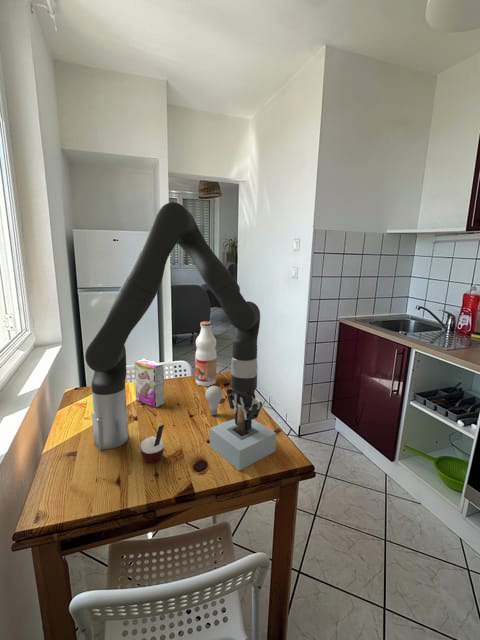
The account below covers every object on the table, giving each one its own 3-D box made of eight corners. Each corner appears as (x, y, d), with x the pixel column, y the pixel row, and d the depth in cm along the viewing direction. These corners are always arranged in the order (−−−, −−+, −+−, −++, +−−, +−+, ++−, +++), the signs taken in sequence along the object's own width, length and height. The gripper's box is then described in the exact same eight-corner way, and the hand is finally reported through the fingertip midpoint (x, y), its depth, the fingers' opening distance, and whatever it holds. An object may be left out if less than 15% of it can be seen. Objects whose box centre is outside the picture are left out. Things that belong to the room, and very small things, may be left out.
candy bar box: (135, 401, 124) (133, 361, 120) (145, 396, 128) (143, 357, 125) (155, 408, 118) (154, 367, 115) (165, 403, 122) (164, 363, 119)
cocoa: (139, 454, 92) (136, 415, 90) (161, 448, 95) (158, 410, 93) (145, 472, 84) (141, 431, 81) (168, 465, 86) (165, 425, 84)
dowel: (242, 439, 92) (242, 407, 90) (234, 434, 94) (235, 403, 92) (251, 435, 94) (251, 404, 92) (243, 430, 96) (244, 400, 94)
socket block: (239, 470, 85) (239, 450, 84) (209, 446, 96) (209, 427, 94) (275, 451, 94) (276, 432, 93) (244, 430, 104) (245, 413, 103)
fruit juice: (217, 386, 139) (217, 324, 133) (195, 387, 137) (195, 324, 132) (215, 378, 148) (215, 320, 142) (195, 379, 147) (194, 320, 141)
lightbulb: (225, 413, 116) (225, 385, 114) (217, 420, 111) (217, 391, 108) (210, 409, 118) (210, 381, 116) (202, 416, 113) (202, 388, 111)
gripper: (218, 367, 93) (218, 421, 96) (250, 383, 82) (249, 442, 86) (238, 362, 98) (237, 413, 101) (271, 376, 87) (268, 433, 90)
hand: (242, 426), depth 93 cm, fingers closed on dowel, 3 cm apart
